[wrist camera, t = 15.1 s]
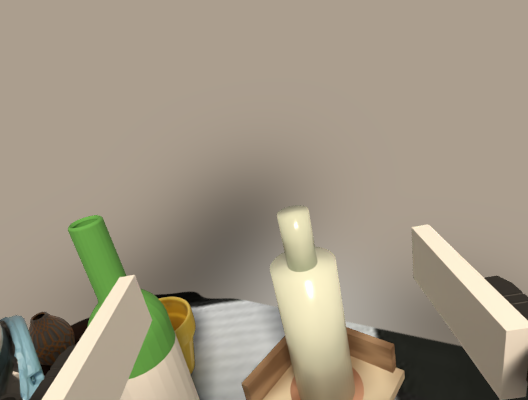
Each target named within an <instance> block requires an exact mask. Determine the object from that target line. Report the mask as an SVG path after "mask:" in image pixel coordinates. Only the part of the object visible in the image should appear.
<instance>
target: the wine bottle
mask: <svg viewBox="0 0 528 400" xmlns="http://www.w3.org/2000/svg"><path fill="white" fill-rule="evenodd" d="M68 231H69V234H70V236H71V238H72V241H73V243H74V245H75V248H76V250H77V252H78V255H79V257H80V259H81V262H82V264H83V266H84V269H85V271H86V273H87V275H88V278H89V280H90V282H91V285H92V287H93V289H94V292H95V294H96V296H97V299H98V304H97V305H96V307H95V308H94V310H93V312H92V314H91V316H90V318H89V321H88V326H89V324H90V323H91V321H92V320H93V318H94V317H95V315H96V313H97V312H98V310H99V309H100V307H101V306H102V304H103V303H104V301H105V299H106V298H107V296H108V295H109V293H110V292H111V290H112V288H113V287H114V285H115V284H116V282H117V281H118V279H119V277H125V276H126V274H125V271H124V269H123V267H122V264H121V262H120V259H119V257H118V254H117V252H116V249H115V247H114V244H113V242H112V240H111V237H110V235H109V232H108V230H107V227H106V225H105V222H104V220H103V218H102V217H101V216H97V215H94V216H89V217H85V218H82V219H80V220H77V221H75V222H74V223H72V224H71V225H70V226H69V228H68ZM141 292H142V295H143V297H144V300H145V303H146V305H147V308H148V310H149V313H150V316H151V318H152V322H151V325H150V327H149V329H148V332H147V334H146V337H145V339H144V342H143V344H142V347H141V349H140V352H139V354H138V357H137V359H136V361H135V364H134V366H133V369H132V371H131V374H130V376H129V379H128V381H127V384H126V386H125V389H124V391H123V393H122V396H121V398H120V400H200V399H199V396H198V394H197V391H196V388H195V385H194V383H193V380H192V377H191V375H190V372H189V369H188V366H187V364H186V361H185V358H184V356H183V353H182V350H181V347H180V345H179V342H178V339H177V337H176V334H175V331H174V329H173V326H172V324H171V321H170V318H169V315H168V313H167V310H166V308H165V307H164V305H163V304H162V303H161V301H160V300H159V299H158V298H157V297H156V296H155V295H153V294H152V293H150V292H148V291H145V290H143V289H141ZM87 328H88V327H87Z"/></svg>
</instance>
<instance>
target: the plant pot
mask: <svg viewBox="0 0 528 400" xmlns="http://www.w3.org/2000/svg"><path fill="white" fill-rule="evenodd" d="M159 300H160V301H161V303H162V304H163V305H164V307H165V308H166V310H167V313H168V315H169V318H170V321H171V324H172V326H173V329H174V331H175V334H176V337H177V339H178V342H179V345H180V347H181V350H182V353H183V356H184V358H185V361H186V364H187V366H188V369H189V372H190V375H191V373H192V372H193V369H194V366H195V361H194V347H193V335H194V333H195V320H194V316H193V313H192V310H191V307H190V305H189V303H188V302H187V301H186V300H184V299H182V298H178V297H164V298H159Z"/></svg>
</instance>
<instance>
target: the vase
mask: <svg viewBox="0 0 528 400" xmlns="http://www.w3.org/2000/svg"><path fill="white" fill-rule="evenodd" d="M30 323H31V324H30V328H29V333H30V336H31V339H32V342H33V344H34V347H35V350H36V353H37V356H38V359H39V362H40V364H41V365H46V366H52V365H53V363H54V362H55V360H56V359H57V357H58V356H59V355H60V354H61V353H62V352H64V351H65V350H66V349H67V348H68V347H69V346H71V345H75V335H74V332H73V330H72V328H71V326H70V325H69V324H68V323H67V322H66V321H65V320H64V319H62V318H59V317H56V316H52V315H50V314H48V313H46V312H41V313H38V314H36V315H34V316H33V317H32V318H31V321H30Z"/></svg>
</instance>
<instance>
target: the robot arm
mask: <svg viewBox="0 0 528 400" xmlns="http://www.w3.org/2000/svg"><path fill="white" fill-rule="evenodd" d="M412 254H413V278H414V279H415V281H416V282H417V283H418V285H419V286H420V288H421V289H422V290H423V292H424V293H425V295H426V296H427V297H428V299H429V300H430V302H431V303H432V304H433V306H434V307H435V309H436V310H437V311H438V313H439V314H440V316H441V317H442V319H443V320H444V321H445V323H446V324H447V326H448V327H449V328H450V330H451V331H452V332H453V334H454V335H455V337H456V338H457V339H458V341H459V342H460V344H461V345H462V347H463V348H464V349H465V351H466V352H467V354H468V355H469V356H470V358H471V359H472V361H473V362H474V364H475V365H476V366H477V368H478V369H479V371H480V372H481V373H482V375H483V376H484V378H485V379H486V380H487V382H488V383H489V385H490V386H491V387H492V389H493V390H494V392H495V393H496V394H497V396H498V397H499V399H500V400H505V399H512V398H519V397H525V396H526V390H527V382H528V297H527V296H526V295H525V294H523V293H522V291H521V290H519V289H518V288H517V287H516V286H515V285H514V284H512V283H511V282H509V281H507V280H505V279H503V278H500V277H499V276H492V277H486V278H483V277H482V276H481V275H480V274H479V273H478V272H477V271H476V270H475V269H474V268H473V267H472V266H471V265H470V264H469V263H468V262H467V261H466V260H465V259H464V258H463V257H461V255H459V254H458V253H457V252H456V251H455V250H454V249H453V248H452V247H451V246H450V245H449V244H448V243H447V242H446V241H445V240H444V239H443V238H442V237H441V236H440V235H439V234H438V233H437V232H436V231H435V230H434V229H433V228H432V227H431V226H430V225H422V226H416V227H412ZM151 322H152V318H151V316H150V313H149V310H148V308H147V305H146V303H145V300H144V297H143V295H142V292H141V289H140V287H139V284H138V282H137V279H136V276H135V275H131V276H125V277H119V279H118V281H117V282H116V284H115V285H114V287H113V288H112V290H111V292H110V293H109V295H108V296H107V298H106V299H105V301H104V303H103V304H102V306H101V307H100V309H99V310H98V312H97V313H96V315H95V317H94V318H93V320H92V321H91V323H90V324H89V326H88V328H87V329H86V331H85V332H84V334H83V335H82V337H81V339H80V340H79V342H78V343H77V345H71V346H69V347H68V348H67V349H66V350H65V351H64V352H62V353H61V354H60V355H59V356H58V357H57V359H56V360H55V362H54V363H53V365H52V366H51V368H50V370H49V371H48V372H47V374H46V375H45V377H44V374H43V371H42V368H41V365H40V362H39V359H38V356H37V353H36V350H35V347H34V344H33V342H32V339H31V336H30V333H29V330H28V328H27V325H26V323H25V320H24V318H23V317H22V316H17V315H16V316H12V317H9V318H7V317H5V318H3V319H1V320H0V400H120V398H121V396H122V393H123V391H124V389H125V386H126V384H127V381H128V379H129V376H130V374H131V371H132V369H133V366H134V364H135V361H136V359H137V357H138V354H139V352H140V349H141V347H142V344H143V342H144V339H145V337H146V334H147V332H148V329H149V327H150V325H151Z"/></svg>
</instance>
